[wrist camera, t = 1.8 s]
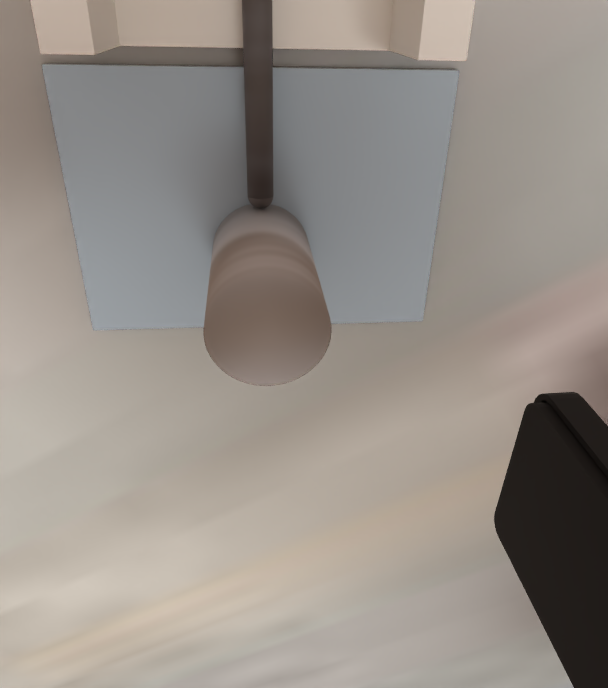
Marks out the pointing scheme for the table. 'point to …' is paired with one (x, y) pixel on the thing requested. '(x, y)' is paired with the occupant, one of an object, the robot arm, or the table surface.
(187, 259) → the mat
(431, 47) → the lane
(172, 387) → the table surface
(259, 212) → the rod with block end
